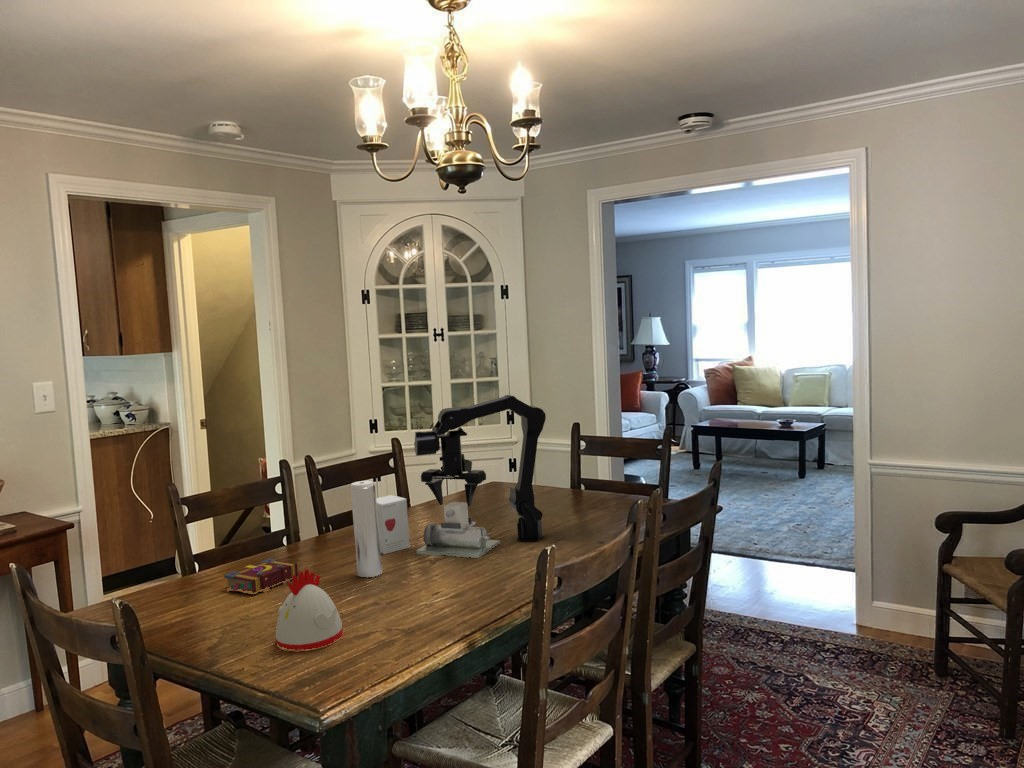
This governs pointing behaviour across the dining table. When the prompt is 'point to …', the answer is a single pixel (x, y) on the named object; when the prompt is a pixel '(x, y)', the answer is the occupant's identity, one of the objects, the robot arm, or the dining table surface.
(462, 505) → the off-white cube
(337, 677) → the dining table surface
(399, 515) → the supplement box
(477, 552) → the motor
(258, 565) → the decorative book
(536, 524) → the robot arm
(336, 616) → the kitchen timer
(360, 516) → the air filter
